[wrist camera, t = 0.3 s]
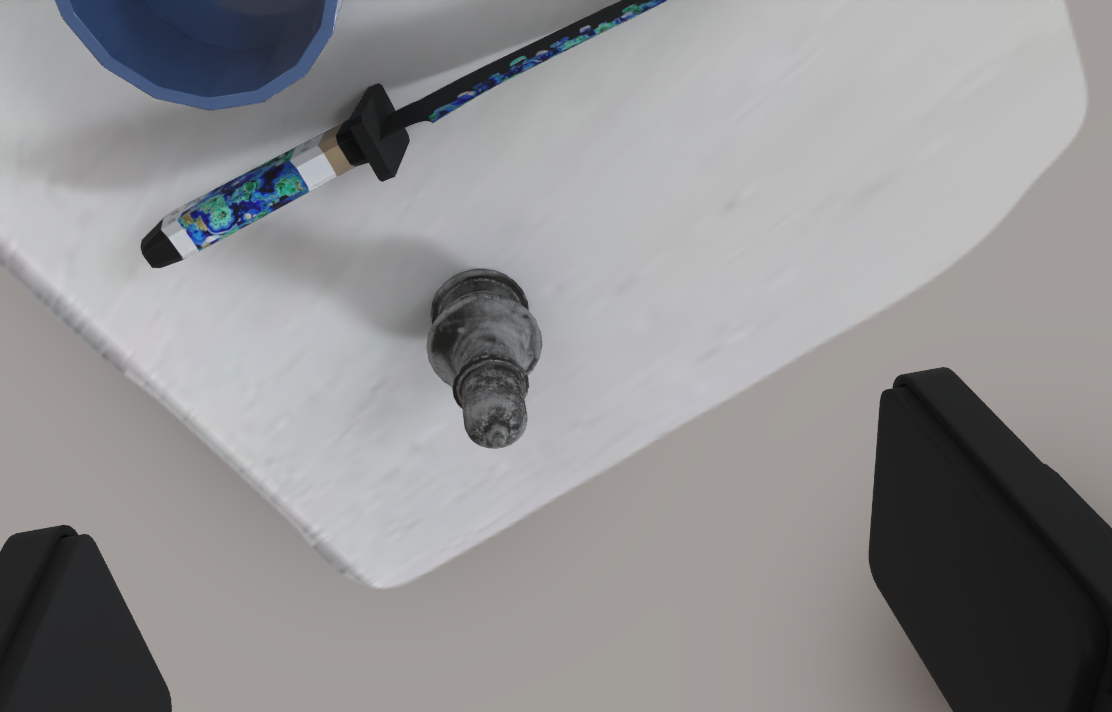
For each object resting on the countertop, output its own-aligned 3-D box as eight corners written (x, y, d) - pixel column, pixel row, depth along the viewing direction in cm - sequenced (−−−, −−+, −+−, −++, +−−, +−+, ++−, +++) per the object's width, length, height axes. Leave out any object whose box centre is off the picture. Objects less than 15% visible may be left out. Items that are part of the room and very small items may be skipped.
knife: (163, 245, 45) (151, 284, 41) (126, 190, 43) (111, 225, 39) (741, -7, 46) (782, 9, 42) (727, -70, 44) (768, -60, 40)
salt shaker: (544, 345, 52) (578, 479, 42) (441, 370, 52) (451, 512, 42) (520, 252, 49) (551, 373, 39) (411, 279, 49) (414, 408, 39)
